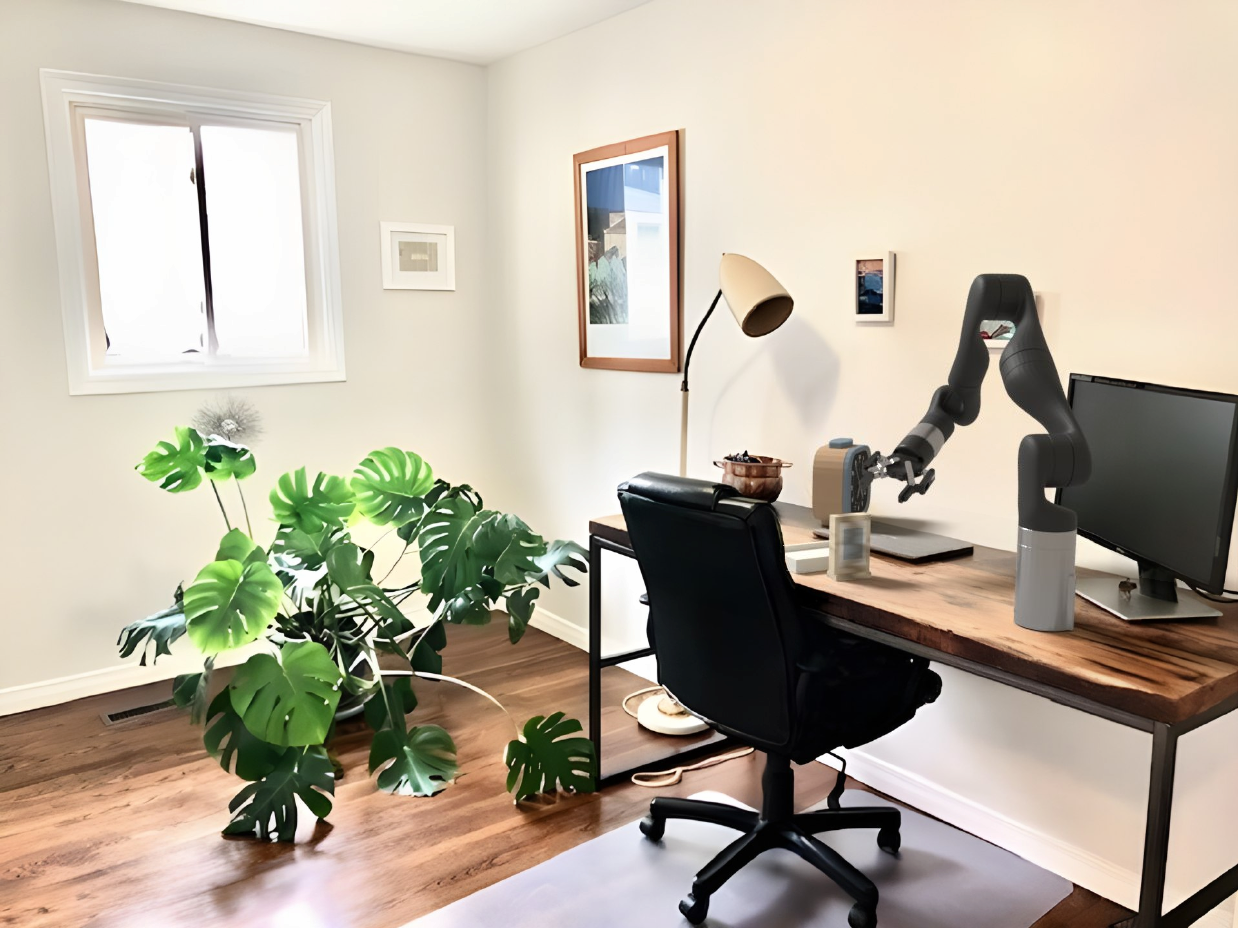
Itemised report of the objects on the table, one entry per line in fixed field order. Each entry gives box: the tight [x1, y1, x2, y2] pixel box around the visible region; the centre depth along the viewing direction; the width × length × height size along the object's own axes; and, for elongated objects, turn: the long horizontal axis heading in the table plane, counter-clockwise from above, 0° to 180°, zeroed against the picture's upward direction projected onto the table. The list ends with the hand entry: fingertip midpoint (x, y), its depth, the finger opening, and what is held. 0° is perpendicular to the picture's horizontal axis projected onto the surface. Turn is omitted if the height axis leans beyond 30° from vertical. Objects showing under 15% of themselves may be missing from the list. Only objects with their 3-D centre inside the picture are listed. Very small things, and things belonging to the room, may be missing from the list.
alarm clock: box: [811, 437, 872, 527], centre depth 250 cm, size 21×10×22 cm, turn 150°
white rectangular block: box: [785, 539, 829, 575], centre depth 207 cm, size 14×8×4 cm, turn 111°
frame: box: [826, 512, 872, 582], centre depth 197 cm, size 8×4×13 cm, turn 105°
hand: (880, 493), depth 197 cm, fingers open, 8 cm apart
